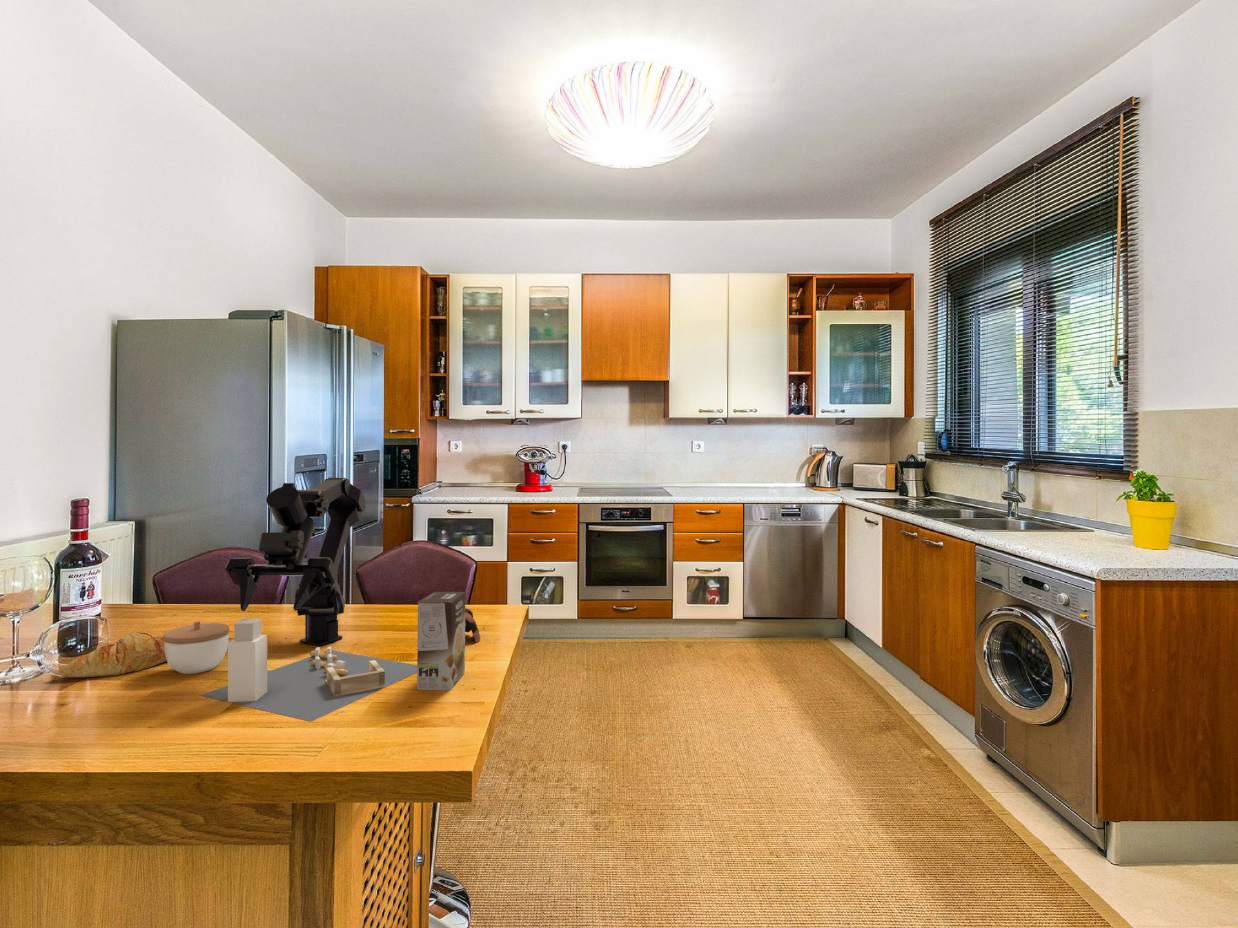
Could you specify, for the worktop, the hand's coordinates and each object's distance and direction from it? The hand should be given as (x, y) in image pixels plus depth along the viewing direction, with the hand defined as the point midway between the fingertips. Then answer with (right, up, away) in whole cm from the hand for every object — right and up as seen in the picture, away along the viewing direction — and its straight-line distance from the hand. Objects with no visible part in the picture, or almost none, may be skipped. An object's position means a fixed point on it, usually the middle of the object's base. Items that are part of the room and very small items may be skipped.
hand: (268, 609), depth 119 cm
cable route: (+7, -13, +9) cm, 17 cm away
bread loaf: (-32, -13, +8) cm, 35 cm away
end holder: (+16, -13, -1) cm, 21 cm away
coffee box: (+31, -14, +1) cm, 34 cm away
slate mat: (+9, -13, +1) cm, 16 cm away
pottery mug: (+28, -13, +29) cm, 42 cm away
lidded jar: (-17, -13, +7) cm, 23 cm away
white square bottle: (0, -13, -8) cm, 15 cm away
